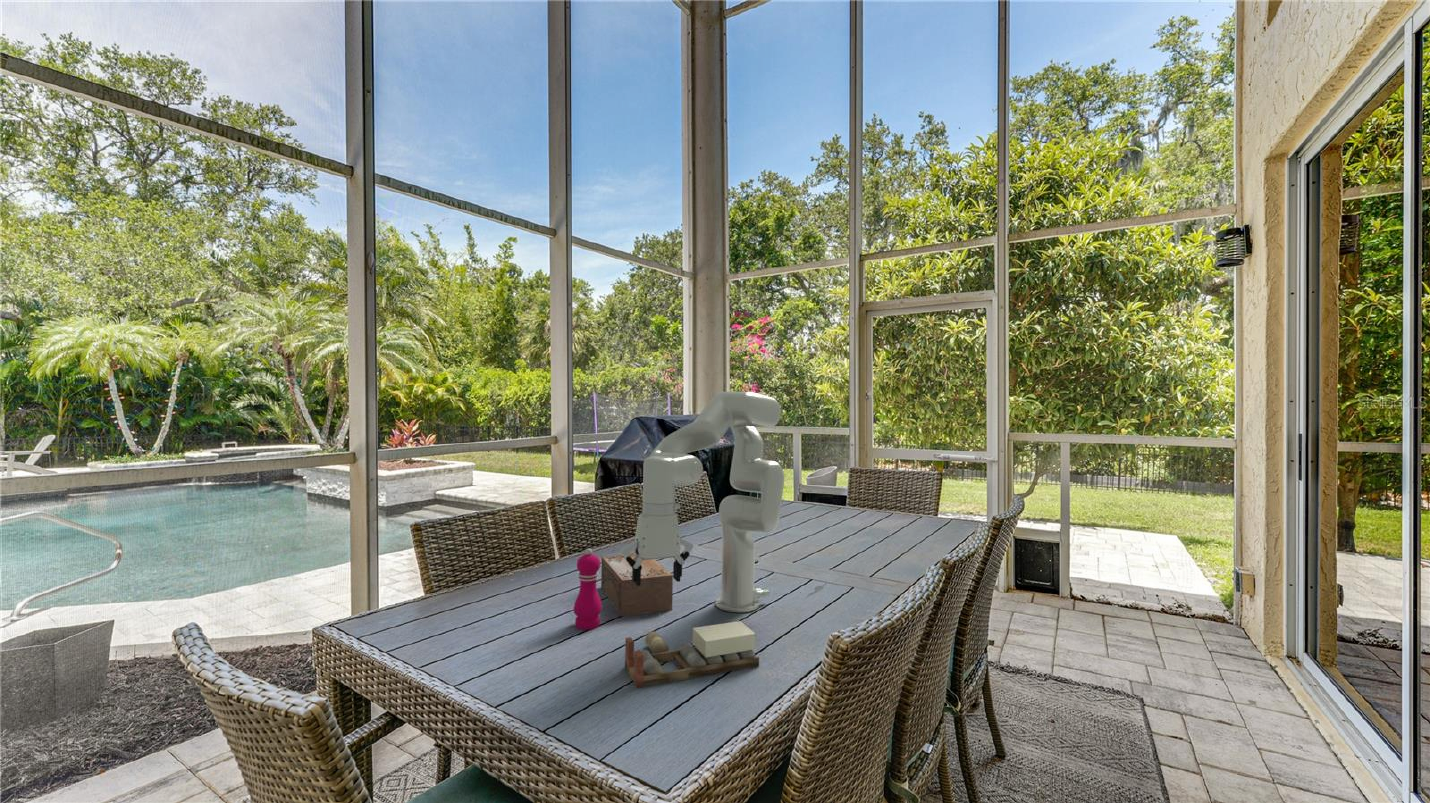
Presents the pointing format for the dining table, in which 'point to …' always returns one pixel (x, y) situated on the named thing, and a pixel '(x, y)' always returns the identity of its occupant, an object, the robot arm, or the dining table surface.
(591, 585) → the pepper mill
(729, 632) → the slab
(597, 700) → the dining table surface
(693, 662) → the track
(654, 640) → the roller
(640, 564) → the robot arm
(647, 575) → the tissue box cover
